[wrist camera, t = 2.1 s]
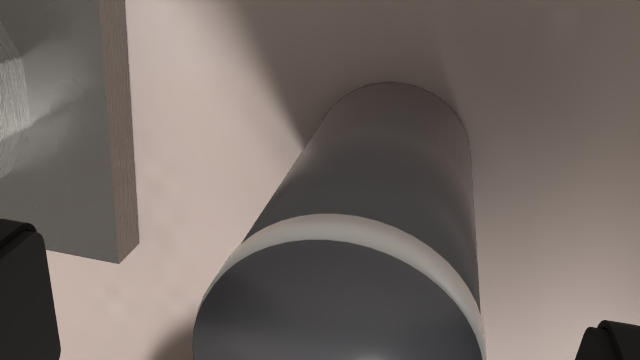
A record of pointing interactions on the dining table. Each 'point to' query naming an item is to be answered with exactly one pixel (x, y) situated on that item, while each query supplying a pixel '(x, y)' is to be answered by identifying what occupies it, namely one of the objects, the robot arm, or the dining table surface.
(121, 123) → the mount
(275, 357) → the lens
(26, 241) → the robot arm
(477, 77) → the dining table surface
